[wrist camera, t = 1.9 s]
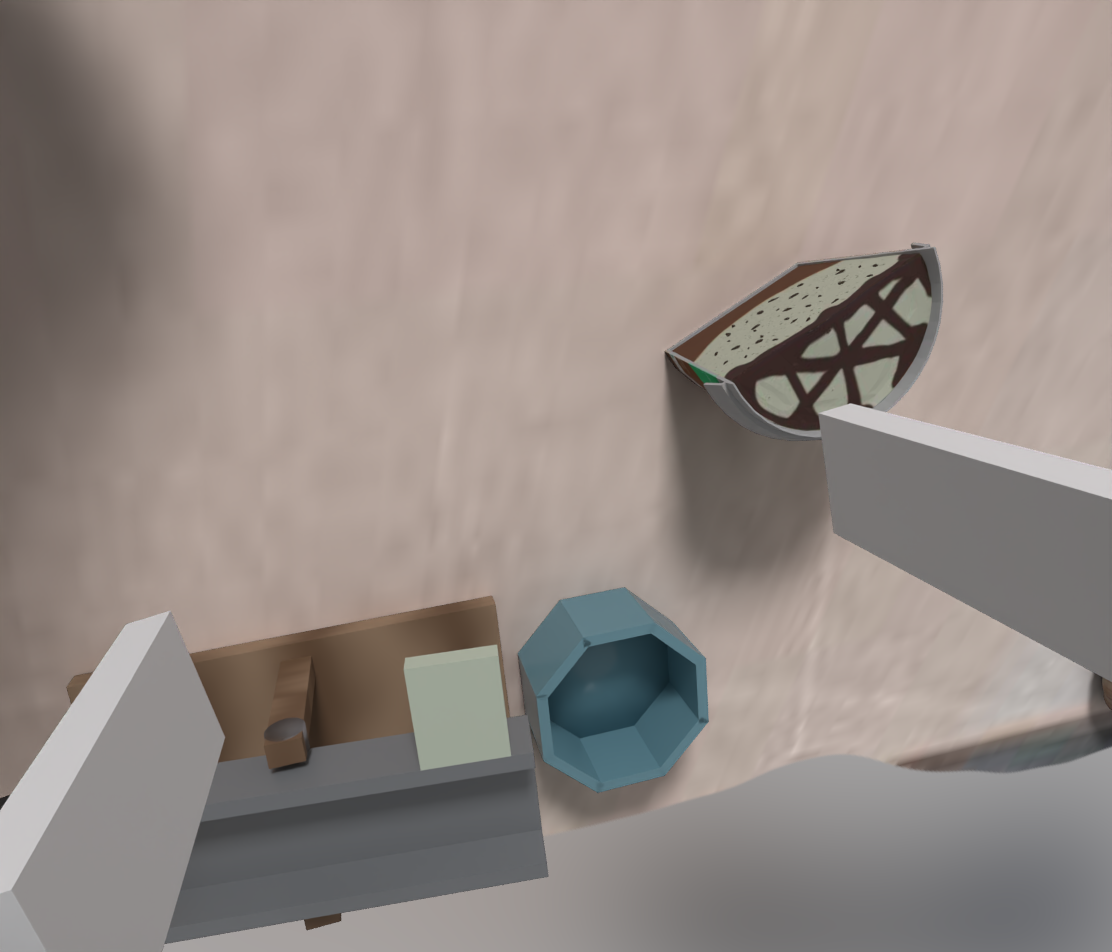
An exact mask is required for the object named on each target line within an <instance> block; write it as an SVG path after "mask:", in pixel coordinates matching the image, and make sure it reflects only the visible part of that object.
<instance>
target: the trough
mask: <svg viewBox="0 0 1112 952" xmlns="http://www.w3.org/2000/svg"><path fill="white" fill-rule="evenodd" d="M404 675H405V681H406V687H407V693H408V698H409V704H410V710H411V716H412V722H413V728H414V732H412V733H406V734H400V735H393V736H387V737H380V738H374V739H367V740H361V741H354V742H348V743H341V744H335V745H328V746H322V747H316V748H310V749H309V751H308V753H307V759H306V761H303V762H299V763H295V764H290V765H286V766H281V767H277V768H273V769H269V767H268V763H267V759H266V755H264V756H257V757H251V758H245V759H238V760H232V761H225V762H219V763H217V767H216V770H215V773H214V777H213V780H212V784H211V787H210V790H209V794H208V797H207V801H206V804H205V807H204V811H203V814H202V818H201V821H200V824H199V828H198V831H197V835H196V838H195V841H194V845H193V848H192V852H191V855H190V858H189V862H188V865H187V869H186V872H185V876H184V879H183V882H182V886H181V889H180V893H179V896H178V899H177V903H176V906H175V910H174V913H173V916H172V920H171V923H170V927H169V930H168V933H167V937H166V940H165V944H167V943H173V942H178V941H184V940H190V939H196V938H201V937H207V936H212V935H218V934H224V933H230V932H236V931H241V930H247V929H253V928H258V927H264V926H270V925H276V924H281V923H286V922H293V921H298V920H304V919H310V918H316V917H321V916H327V915H333V914H338V913H344V912H350V911H355V910H361V909H367V908H373V907H378V906H384V905H390V904H396V903H401V902H407V901H413V900H418V899H424V898H430V897H435V896H441V895H447V894H453V893H458V892H464V891H470V890H475V889H480V888H487V887H493V886H498V885H504V884H509V883H515V882H521V881H527V880H533V879H538V878H544V877H548V869H547V861H546V854H545V848H544V841H543V834H542V827H541V818H540V810H539V802H538V793H537V785H536V777H535V769H534V768H535V761H534V752H533V746H532V739H531V733H530V726H529V720H528V715H522V716H516V717H509V718H506V710H505V702H504V694H503V687H502V679H501V671H500V664H499V656H498V648H497V645H490V646H483V647H477V648H470V649H463V650H456V651H449V652H442V653H435V654H428V655H422V656H415V657H408V658H405V663H404Z"/></svg>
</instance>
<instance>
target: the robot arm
mask: <svg viewBox="0 0 1112 952" xmlns="http://www.w3.org/2000/svg"><path fill="white" fill-rule="evenodd" d="M818 414H819V422H820V430H821V438H822V446H823V453H824V461H825V469H826V477H827V484H828V492H829V500H830V508H831V516H832V523H833V531H834V533H835V534H837V535H839V536H841V537H842V538H844V539H846V540H848V541H850V542H852V543H854V544H855V545H857V546H859V547H861V548H863V549H865V550H867V551H869V552H870V553H872V554H874V555H876V556H878V557H880V558H882V559H883V560H885V561H887V562H889V563H891V564H893V565H895V566H896V567H898V568H900V569H902V570H904V571H906V572H908V573H909V574H911V575H913V576H915V577H917V578H919V579H921V580H923V581H924V582H926V583H928V584H930V585H932V586H934V587H936V588H937V589H939V590H941V591H943V592H945V593H947V594H949V595H950V596H952V597H954V598H956V599H958V600H960V601H962V602H964V603H965V604H967V605H969V606H971V607H973V608H975V609H977V610H978V611H980V612H982V613H984V614H986V615H988V616H990V617H991V618H993V619H995V620H997V621H999V622H1001V623H1003V624H1005V625H1006V626H1008V627H1010V628H1012V629H1014V630H1016V631H1018V632H1019V633H1021V634H1023V635H1025V636H1027V637H1029V638H1031V639H1032V640H1034V641H1036V642H1038V643H1040V644H1042V645H1044V646H1045V647H1047V648H1049V649H1051V650H1053V651H1055V652H1057V653H1059V654H1060V655H1062V656H1064V657H1066V658H1068V659H1070V660H1072V661H1073V662H1075V663H1077V664H1079V665H1081V666H1083V667H1085V668H1086V669H1088V670H1090V671H1092V672H1094V673H1096V674H1098V675H1100V676H1101V677H1103V678H1105V679H1107V680H1109V681H1111V682H1112V470H1110V469H1107V468H1103V467H1099V466H1095V465H1091V464H1087V463H1083V462H1079V461H1075V460H1071V459H1067V458H1063V457H1059V456H1055V455H1052V454H1048V453H1044V452H1040V451H1036V450H1032V449H1028V448H1024V447H1020V446H1016V445H1012V444H1008V443H1004V442H1000V441H996V440H993V439H989V438H985V437H981V436H977V435H973V434H969V433H965V432H961V431H957V430H953V429H949V428H945V427H941V426H938V425H934V424H930V423H926V422H922V421H918V420H914V419H910V418H906V417H902V416H898V415H894V414H890V413H886V412H883V411H879V410H875V409H871V408H867V407H863V406H859V405H855V404H851V403H850V404H847V405H844V406H840V407H837V408H834V409H830V410H827V411H824V412H821V413H818ZM224 739H225V736H224V734H223V731H222V729H221V727H220V724H219V722H218V720H217V717H216V715H215V713H214V710H213V708H212V706H211V703H210V701H209V699H208V696H207V694H206V692H205V689H204V687H203V685H202V683H201V680H200V678H199V676H198V673H197V671H196V669H195V666H194V664H193V662H192V659H191V657H190V655H189V652H188V650H187V648H186V645H185V643H184V641H183V638H182V636H181V634H180V631H179V629H178V627H177V624H176V622H175V620H174V617H173V615H172V613H171V611H168V612H164V613H161V614H158V615H154V616H151V617H148V618H145V619H141V620H138V621H135V622H131V623H128V624H126V625H125V627H124V628H123V630H122V631H121V632H120V634H119V635H118V637H117V638H116V640H115V641H114V643H113V644H112V646H111V647H110V649H109V650H108V652H107V653H106V655H105V656H104V658H103V659H102V661H101V662H100V664H99V665H98V666H97V668H96V669H95V671H94V672H93V674H92V675H91V677H90V678H89V680H88V681H87V683H86V684H85V686H84V687H83V689H82V690H81V692H80V693H79V695H78V696H77V697H76V699H75V700H74V702H73V703H72V705H71V706H70V708H69V709H68V711H67V712H66V714H65V715H64V717H63V718H62V720H61V721H60V723H59V724H58V726H57V727H56V729H55V730H54V731H53V733H52V734H51V736H50V737H49V739H48V740H47V742H46V743H45V745H44V746H43V748H42V749H41V751H40V752H39V754H38V755H37V757H36V758H35V760H34V761H33V763H32V764H31V765H30V767H29V768H28V770H27V771H26V773H25V774H24V776H23V777H22V779H21V780H20V782H19V783H18V785H17V786H16V788H15V789H14V791H13V792H12V794H11V795H9V796H6V797H3V798H0V952H162V950H163V947H164V944H165V940H166V937H167V933H168V930H169V927H170V923H171V920H172V916H173V913H174V910H175V906H176V903H177V899H178V896H179V893H180V889H181V886H182V882H183V879H184V876H185V872H186V869H187V865H188V862H189V858H190V855H191V852H192V848H193V845H194V841H195V838H196V835H197V831H198V828H199V824H200V821H201V818H202V814H203V811H204V807H205V804H206V801H207V797H208V794H209V790H210V787H211V784H212V780H213V777H214V773H215V770H216V767H217V763H218V760H219V756H220V753H221V750H222V746H223V743H224Z"/></svg>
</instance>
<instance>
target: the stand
mask: <svg viewBox="0 0 1112 952" xmlns="http://www.w3.org/2000/svg"><path fill="white" fill-rule="evenodd" d="M490 645H497V648H498V656H499V664H500V671H501V679H502V687H503V694H504V702H505V710H506V718H509V717H510V714H509V706H508V698H507V690H506V683H505V675H504V667H503V659H502V652H501V644H500V636H499V628H498V620H497V613H496V605H495V602H494V600H493V597H492V596H488V597H483V598H478V599H473V600H468V601H462V602H457V603H452V604H447V605H442V606H436V607H431V608H426V609H421V610H416V611H410V612H405V613H400V614H395V615H389V616H384V617H379V618H374V619H369V620H363V621H358V622H353V623H348V624H343V625H337V626H332V627H327V628H322V629H317V630H311V631H306V632H301V633H296V634H291V635H285V636H280V637H275V638H270V639H265V640H259V641H254V642H249V643H244V644H239V645H233V646H228V647H223V648H218V649H212V650H207V651H202V652H197V653H192V654H189V655H190V657H191V659H192V662H193V664H194V666H195V669H196V671H197V673H198V676H199V678H200V680H201V683H202V685H203V687H204V689H205V692H206V694H207V696H208V699H209V701H210V703H211V706H212V708H213V710H214V713H215V715H216V717H217V720H218V722H219V724H220V727H221V729H222V731H223V734H224V736H225V739H224V743H223V746H222V750H221V753H220V756H219V760H218V763H219V762H225V761H232V760H238V759H245V758H251V757H257V756H264V755H266V759H267V763H268V767H269V769H273V768H277V767H281V766H286V765H290V764H295V763H299V762H303V761H306V759H307V753H308V751H309V749H310V748H316V747H322V746H328V745H335V744H341V743H348V742H354V741H361V740H367V739H374V738H380V737H387V736H393V735H400V734H406V733H412V732H414V728H413V722H412V716H411V710H410V704H409V698H408V693H407V687H406V681H405V675H404V663H405V658H408V657H415V656H422V655H428V654H435V653H442V652H449V651H456V650H463V649H470V648H477V647H483V646H490ZM92 674H93V673H88V674H82V675H77V676H74V678H73V679H72V680H71V682H70V683H69V685H68V686H67V687H66V688H67V691H68V695H69V698H70V701H71V704H72V703H73V702H74V700H75V699H76V697H77V696H78V695H79V693H80V692H81V690H82V689H83V687H84V686H85V684H86V683H87V681H88V680H89V678H90V677H91V675H92ZM304 921H305V926H306V930H310V929H313V928H317V927H321V926H324V925H328V924H332V923H336V922H339V921H341V913H338V914H333V915H327V916H321V917H316V918H310V919H304Z"/></svg>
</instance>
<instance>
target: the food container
mask: <svg viewBox="0 0 1112 952" xmlns="http://www.w3.org/2000/svg"><path fill="white" fill-rule="evenodd" d="M911 247H912V249H907V250H899V251H890V252H882V253H873V254H865V255H856V256H848V257H840V258H831V259H823V260H814V261H806V262H798V263H796V264H795V265H793V266H792V267H790V268H789V269H787V270H786V271H784V272H783V273H781V274H780V275H778V276H777V277H775V278H774V279H772V280H771V281H769V282H768V283H766V284H765V285H763V286H762V287H760V288H759V289H757V290H756V291H754V292H753V293H751V294H750V295H748V296H747V297H745V298H744V299H742V300H741V301H739V302H738V303H736V304H735V305H733V306H732V307H730V308H729V309H727V310H726V311H724V312H723V313H721V314H720V315H718V316H717V317H715V318H714V319H712V320H711V321H709V322H708V323H706V324H705V325H703V326H702V327H700V328H699V329H697V330H696V331H694V332H693V333H691V334H690V335H688V336H687V337H685V338H684V339H682V340H681V341H679V342H678V343H676V344H675V345H673V346H672V347H670V348H669V349H668V350H666V351H665V353H666V354H667V356H668V357H669V359H670V360H671V362H672V363H673V365H674V366H675V368H677V369H678V370H679V371H680V372H681V373H683V374H684V375H685V376H686V377H687V378H689V379H690V380H691V381H692V382H693V383H695V384H697V385H698V386H700V387H702V388H704V389H705V390H707V391H708V393H709V394H710V396H711V397H712V399H713V400H714V402H715V403H716V404H717V405H718V406H719V407H720V408H721V409H722V410H723V411H724V412H725V414H727V415H728V416H729V417H730V418H732V419H733V420H734V421H736V422H737V423H738V424H739V425H741V426H743V427H745V428H747V429H749V430H751V431H753V432H754V433H757V434H760V435H763V436H766V437H770V438H773V439H781V440H789V441H807V440H822V438H821V430H820V422H819V414H818V413H821V412H824V411H827V410H830V409H834V408H837V407H840V406H844V405H847V404H850V403H851V404H855V405H859V406H863V407H867V408H871V409H875V410H879V411H883V412H887V411H888V410H890V409H891V408H892V407H893V406H895V405H896V404H897V402H898V401H899V400H900V399H901V398H902V397H903V396H904V395H905V394H906V393H907V392H908V391H909V389H910V388H911V386H912V385H913V384H914V382H915V381H916V380H917V378H918V377H919V375H920V373H921V372H922V370H923V368H924V366H925V364H926V362H927V361H928V359H929V356H930V354H931V351H932V349H933V346H934V344H935V341H936V337H937V333H938V329H939V326H940V321H941V313H942V305H943V281H942V274H941V267H940V262H939V258H938V255H937V252H936V248H935V247H930V245H929V244H921V243H912V244H911Z"/></svg>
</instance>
